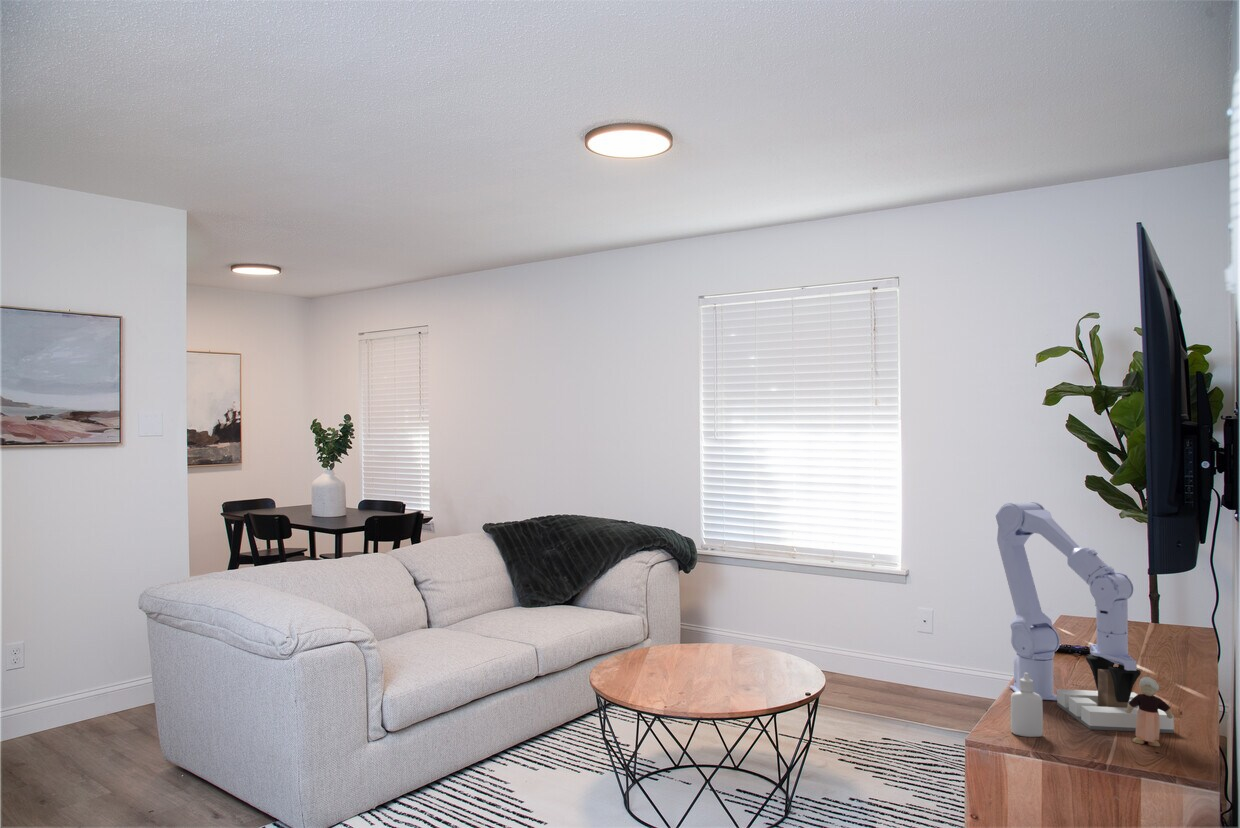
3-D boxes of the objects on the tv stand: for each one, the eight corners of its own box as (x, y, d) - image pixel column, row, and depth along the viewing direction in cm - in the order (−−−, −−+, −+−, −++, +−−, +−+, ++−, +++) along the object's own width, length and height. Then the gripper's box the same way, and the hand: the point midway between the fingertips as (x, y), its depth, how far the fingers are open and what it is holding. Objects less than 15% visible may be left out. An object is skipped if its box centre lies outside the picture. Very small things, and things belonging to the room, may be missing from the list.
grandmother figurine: (1128, 743, 162) (1128, 677, 163) (1124, 737, 166) (1124, 672, 166) (1175, 749, 159) (1174, 681, 160) (1170, 742, 163) (1169, 676, 163)
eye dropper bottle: (1014, 728, 170) (1014, 668, 171) (1044, 734, 167) (1044, 673, 167) (1008, 733, 167) (1008, 672, 167) (1039, 740, 163) (1039, 678, 164)
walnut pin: (1098, 711, 180) (1097, 669, 180) (1117, 712, 179) (1117, 669, 180) (1107, 717, 176) (1107, 674, 176) (1127, 718, 175) (1127, 674, 176)
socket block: (1057, 705, 186) (1057, 689, 186) (1133, 708, 184) (1133, 692, 185) (1089, 729, 170) (1089, 711, 170) (1173, 733, 169) (1173, 715, 169)
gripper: (1075, 623, 185) (1076, 686, 185) (1111, 638, 171) (1111, 706, 170) (1108, 624, 185) (1108, 686, 185) (1146, 639, 171) (1147, 707, 170)
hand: (1112, 696), depth 178 cm, fingers open, 7 cm apart
